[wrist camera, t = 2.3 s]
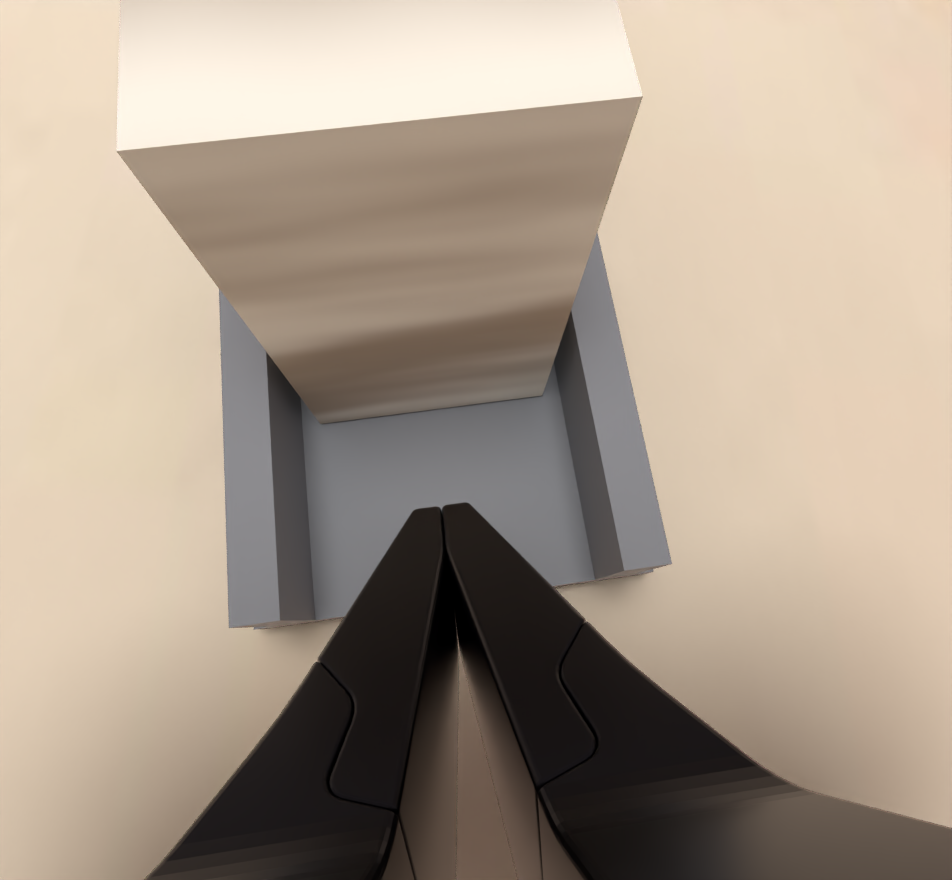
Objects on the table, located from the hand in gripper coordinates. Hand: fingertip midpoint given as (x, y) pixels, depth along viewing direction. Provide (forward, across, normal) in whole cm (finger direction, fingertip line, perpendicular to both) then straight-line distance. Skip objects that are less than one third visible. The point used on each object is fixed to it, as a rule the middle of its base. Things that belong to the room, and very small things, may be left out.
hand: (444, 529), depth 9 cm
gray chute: (+10, 0, +1) cm, 10 cm away
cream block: (+9, 0, 0) cm, 9 cm away
